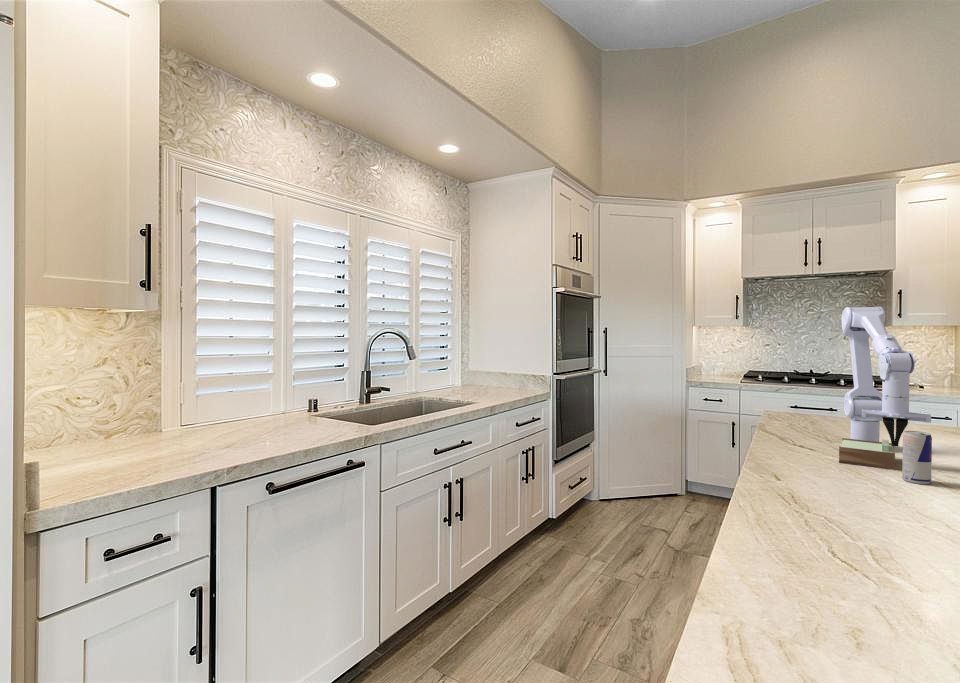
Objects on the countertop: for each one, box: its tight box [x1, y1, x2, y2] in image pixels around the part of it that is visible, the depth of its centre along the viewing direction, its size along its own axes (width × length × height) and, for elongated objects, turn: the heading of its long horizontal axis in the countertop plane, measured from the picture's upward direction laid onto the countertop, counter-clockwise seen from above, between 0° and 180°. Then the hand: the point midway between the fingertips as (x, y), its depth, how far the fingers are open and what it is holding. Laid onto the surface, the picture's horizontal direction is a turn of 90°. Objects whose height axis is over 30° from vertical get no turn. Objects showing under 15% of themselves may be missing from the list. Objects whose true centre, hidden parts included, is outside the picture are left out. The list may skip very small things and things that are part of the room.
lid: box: [840, 438, 895, 453], centre depth 140 cm, size 12×12×2 cm
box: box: [838, 437, 896, 471], centre depth 141 cm, size 14×12×4 cm
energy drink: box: [901, 430, 933, 485], centre depth 122 cm, size 5×5×12 cm
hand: (894, 445), depth 137 cm, fingers closed
